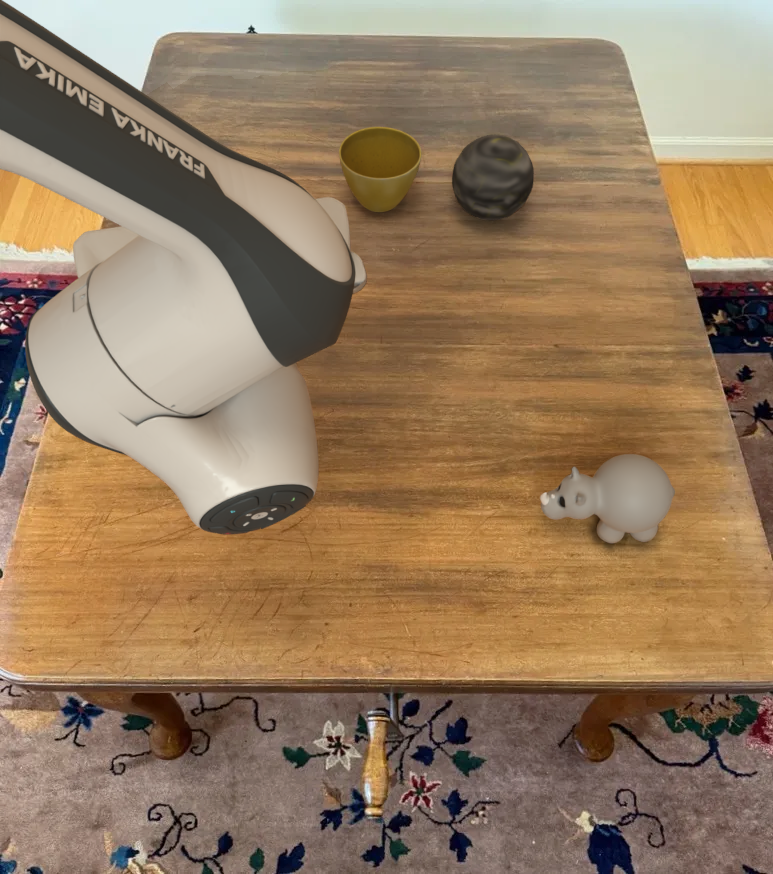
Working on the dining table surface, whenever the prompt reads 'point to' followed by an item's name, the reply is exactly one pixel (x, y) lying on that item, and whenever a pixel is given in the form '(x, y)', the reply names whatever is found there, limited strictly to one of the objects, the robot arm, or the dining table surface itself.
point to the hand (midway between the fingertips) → (208, 189)
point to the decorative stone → (492, 177)
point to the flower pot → (380, 166)
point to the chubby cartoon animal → (615, 497)
